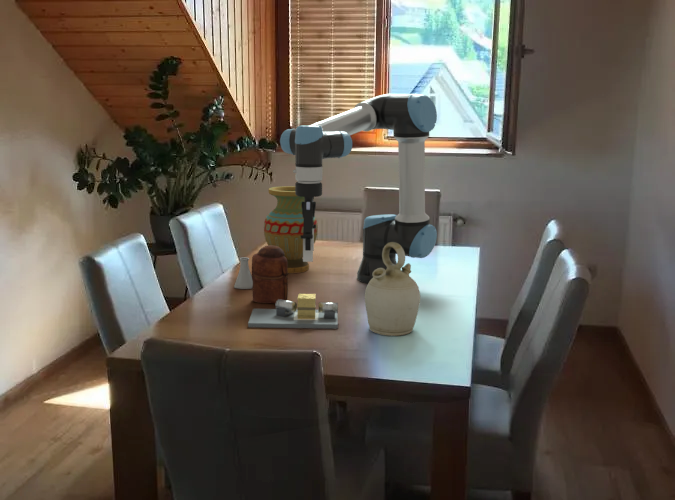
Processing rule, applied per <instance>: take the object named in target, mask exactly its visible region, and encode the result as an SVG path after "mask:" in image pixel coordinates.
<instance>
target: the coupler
mask: <svg viewBox="0 0 675 500" xmlns="http://www.w3.org/2000/svg"><path fill="white" fill-rule="evenodd" d="M316 295H317V294H316V293H298V295H297V310H298V319H315V310H317V309H316V307H317V305H316V302H317V300H316V298H317V297H316Z"/></svg>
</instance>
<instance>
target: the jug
mask: <svg viewBox="0 0 675 500" xmlns="http://www.w3.org/2000/svg"><path fill="white" fill-rule="evenodd" d="M391 248H394V249H395V251H396V252H397V254H396V256H397V261H396V262H397V264H396V265H395V264H393V263H392V262H391V261H390V258H389V251H390V249H391ZM382 259H383V262H384V264H385V265H386V267H387V269H386V270H385V269H384V268H378V269H376V270H374V271H373V273H372V276H373V278H372V279H371V280H370V281H369V283H367V286H366V288H365V291H364V305H365V310H366V317H367V323H368V328H369V331H371V332H372V333H375V334H376V335H381V336H387V337H401V336H405V335H409V334H410V333H412V332H413V330H414V327H415V323H416V319H417V316H418V313H419V310H420V309H419V308H420V305H421V292H420V288H419V286H418V284H417V282H416V280H415V279H413V278H412V277H411V276H410V274H411V273H412V270H411V269H412V265H411V263H406V256H405V252H404V250H403V248H402V247H401V245H399V244H398V243H396V242H390V243H388V244H386V245H385V246H384V248H383V251H382ZM405 263H406V264H405Z"/></svg>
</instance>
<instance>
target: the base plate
mask: <svg viewBox="0 0 675 500" xmlns="http://www.w3.org/2000/svg"><path fill="white" fill-rule="evenodd" d="M338 321H339V320H338V313H335V319H324V313H318V309H315V319H298V310H297V309H296V311H295V312H293V314H291V315H289V316H287V317H281V316H276V308H252V311H251V314H250V317H249V319H248V322H247V327H248V328H272V329H273V328H274V329H275V328H278V329H279V328H281V329H283V328H285V329H287V328H288V329H332V330H333V329H338V327H339V325H338V324H339V322H338Z"/></svg>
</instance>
